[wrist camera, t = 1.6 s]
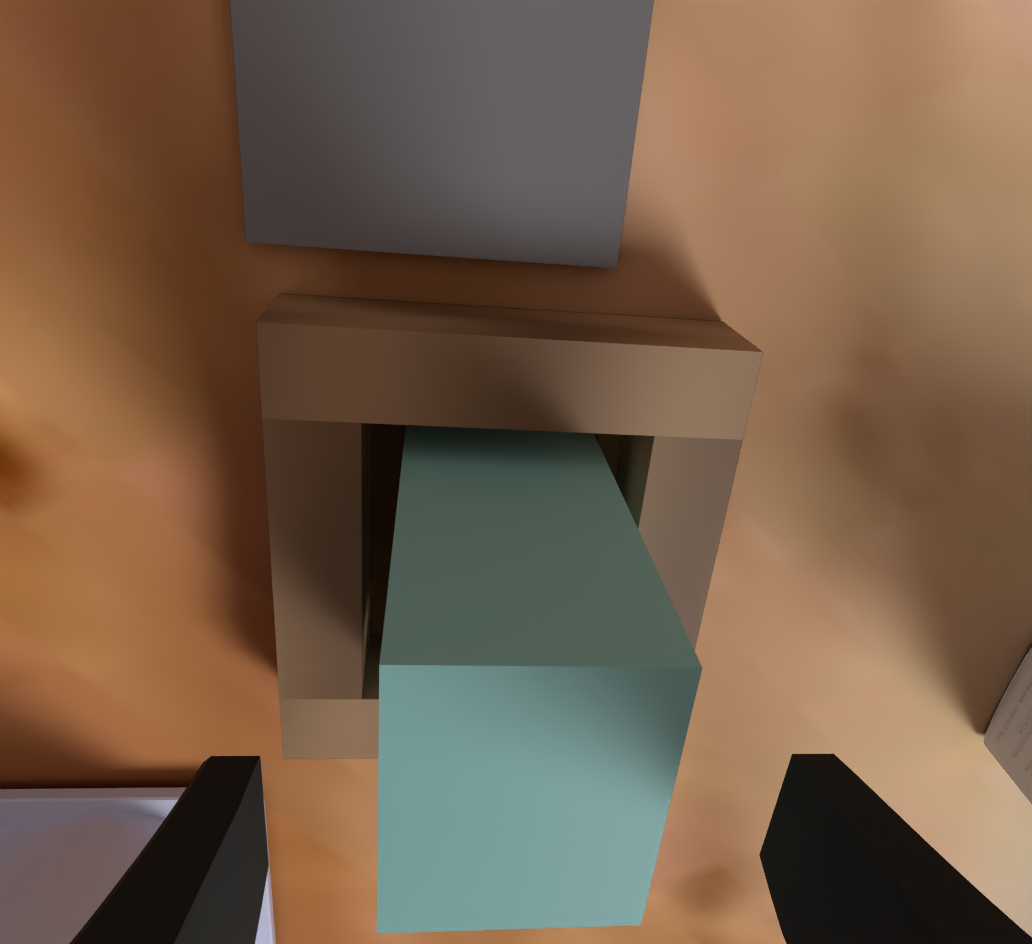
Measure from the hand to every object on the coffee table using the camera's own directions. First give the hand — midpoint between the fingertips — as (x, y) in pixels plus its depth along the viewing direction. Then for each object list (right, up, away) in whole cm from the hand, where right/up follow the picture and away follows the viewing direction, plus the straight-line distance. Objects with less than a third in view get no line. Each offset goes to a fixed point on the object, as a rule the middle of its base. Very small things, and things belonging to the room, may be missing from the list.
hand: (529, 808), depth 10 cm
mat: (-1, +12, +3) cm, 12 cm away
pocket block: (-1, +3, +7) cm, 8 cm away
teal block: (-1, +3, +7) cm, 8 cm away
